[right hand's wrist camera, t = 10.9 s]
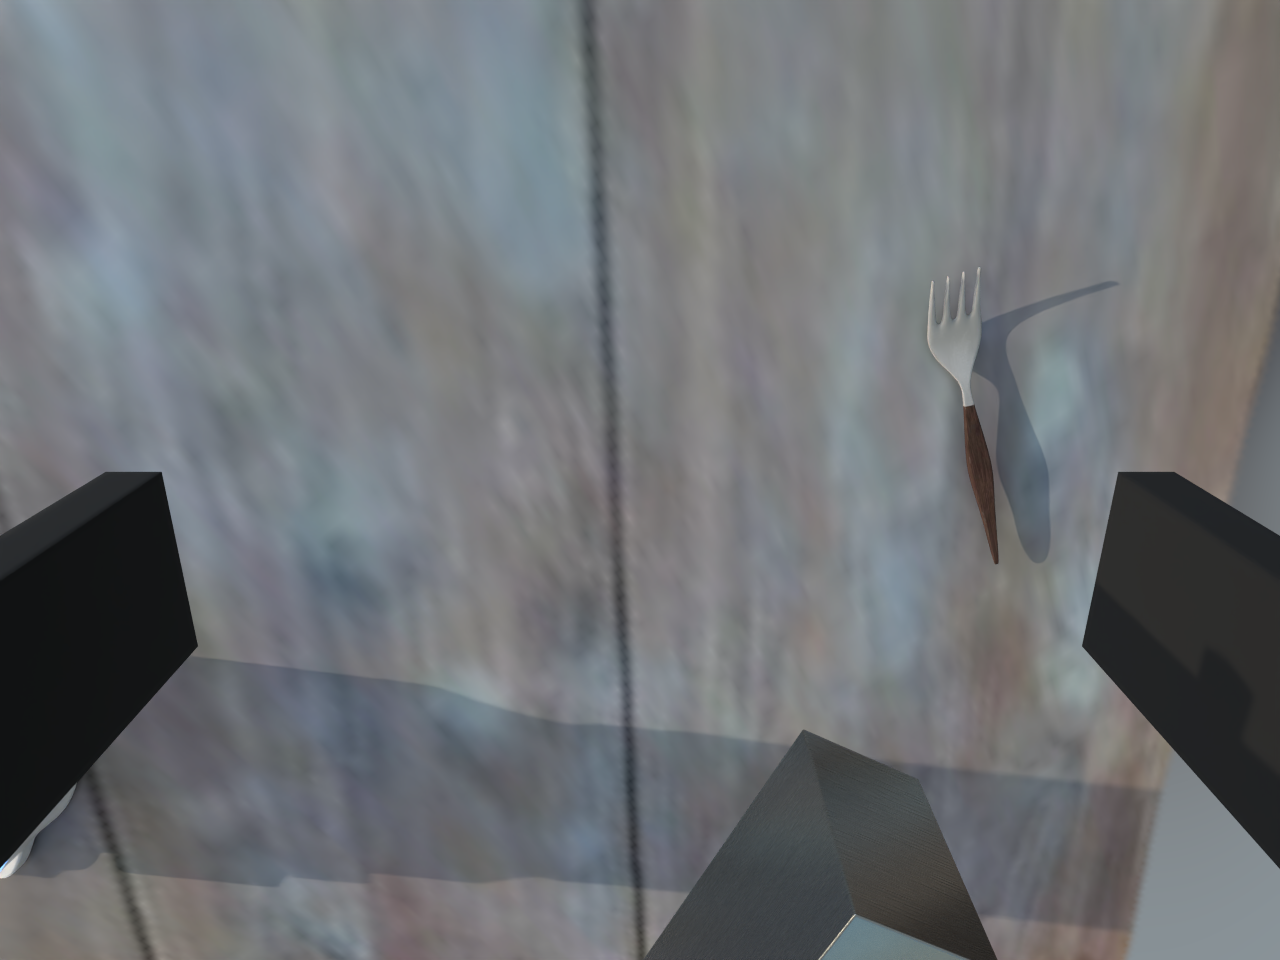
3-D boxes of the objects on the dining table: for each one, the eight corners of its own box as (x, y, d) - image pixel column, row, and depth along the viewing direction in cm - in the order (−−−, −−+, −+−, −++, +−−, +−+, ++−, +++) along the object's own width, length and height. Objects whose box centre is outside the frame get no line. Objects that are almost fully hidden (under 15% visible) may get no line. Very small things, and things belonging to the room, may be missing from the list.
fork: (968, 565, 47) (981, 583, 45) (914, 276, 41) (927, 282, 39) (1017, 553, 46) (1032, 570, 45) (969, 260, 41) (985, 265, 39)
